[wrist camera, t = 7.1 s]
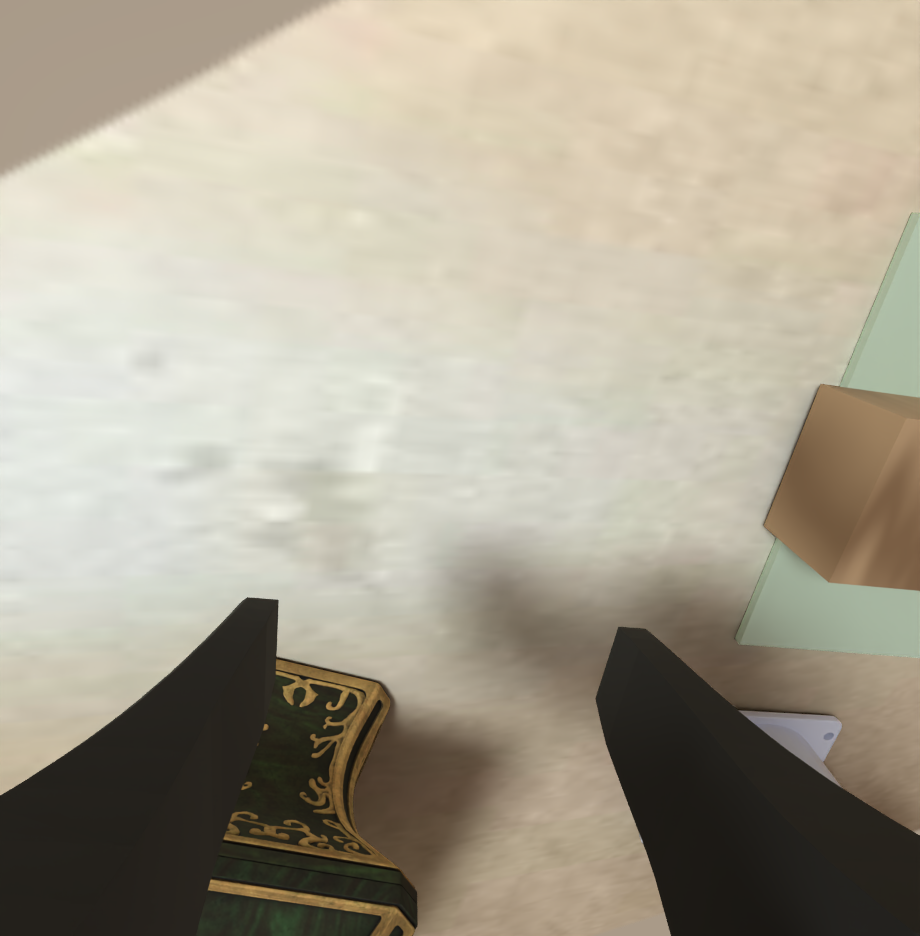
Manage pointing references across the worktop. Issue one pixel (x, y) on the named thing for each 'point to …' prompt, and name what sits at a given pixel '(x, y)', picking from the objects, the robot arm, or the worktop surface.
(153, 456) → the worktop surface
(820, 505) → the tan rectangular block
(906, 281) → the green pad
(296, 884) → the decorative box
